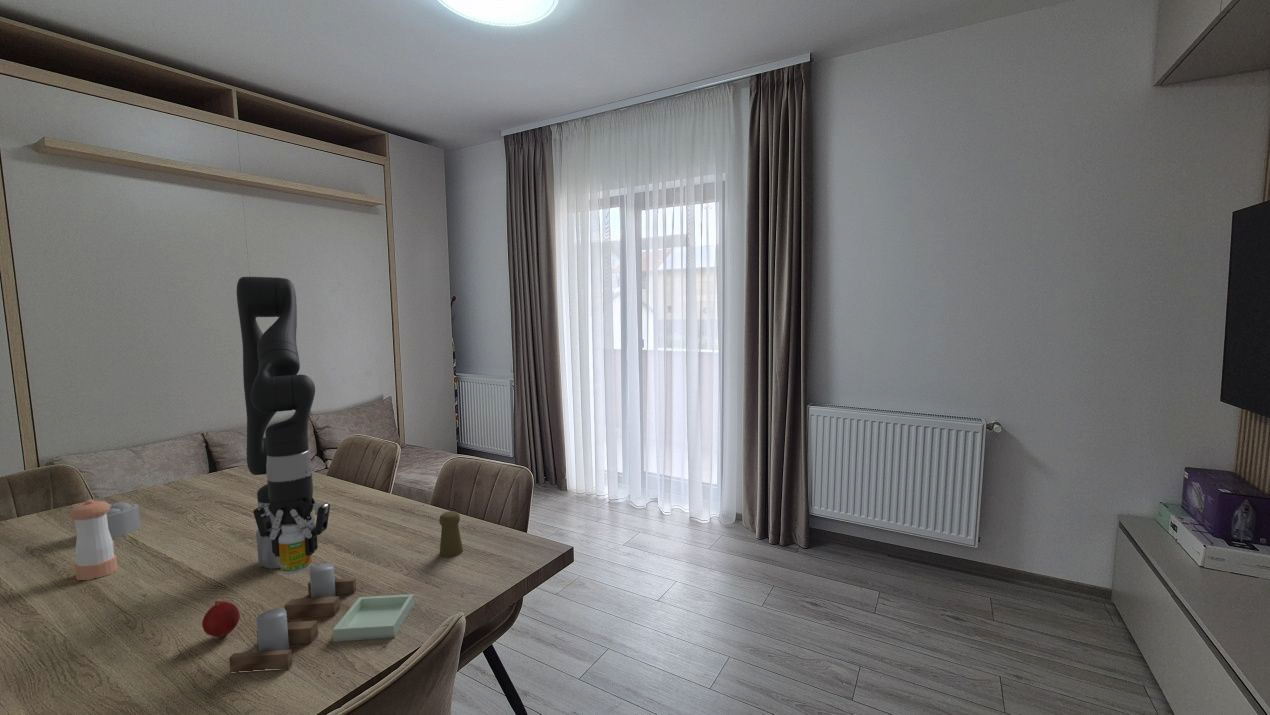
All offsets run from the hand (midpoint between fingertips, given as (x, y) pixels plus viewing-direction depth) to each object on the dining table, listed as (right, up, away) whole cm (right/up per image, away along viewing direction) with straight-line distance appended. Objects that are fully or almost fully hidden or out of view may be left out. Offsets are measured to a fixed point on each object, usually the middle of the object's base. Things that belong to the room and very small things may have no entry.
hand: (295, 554), depth 106 cm
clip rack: (0, -15, +1) cm, 16 cm away
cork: (+20, -13, +34) cm, 41 cm away
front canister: (+1, -16, -8) cm, 18 cm away
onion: (-13, -16, -2) cm, 21 cm away
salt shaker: (-67, -15, +25) cm, 73 cm away
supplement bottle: (0, -3, 0) cm, 3 cm away
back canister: (0, -15, +10) cm, 18 cm away
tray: (+15, -15, +2) cm, 22 cm away
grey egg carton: (-88, -13, +49) cm, 102 cm away
